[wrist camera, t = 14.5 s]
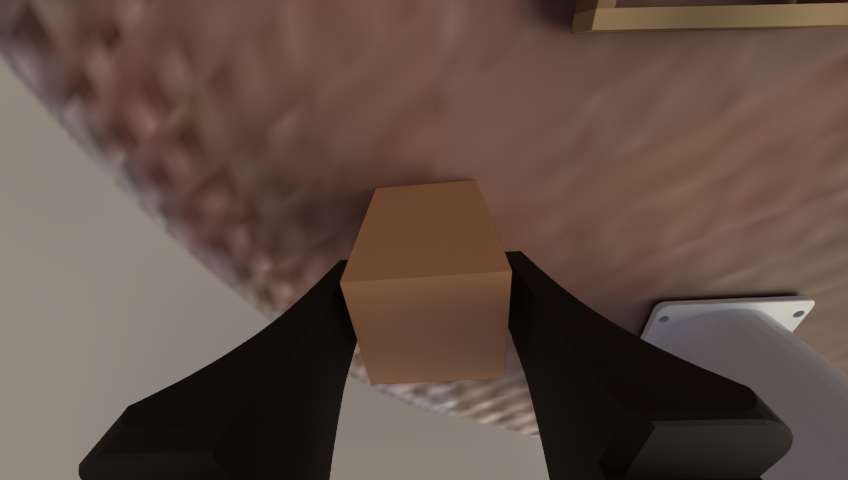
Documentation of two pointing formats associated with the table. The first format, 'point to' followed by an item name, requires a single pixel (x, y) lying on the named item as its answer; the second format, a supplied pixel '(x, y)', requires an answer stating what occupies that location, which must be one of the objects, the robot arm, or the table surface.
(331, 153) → the table surface
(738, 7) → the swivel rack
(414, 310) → the block
